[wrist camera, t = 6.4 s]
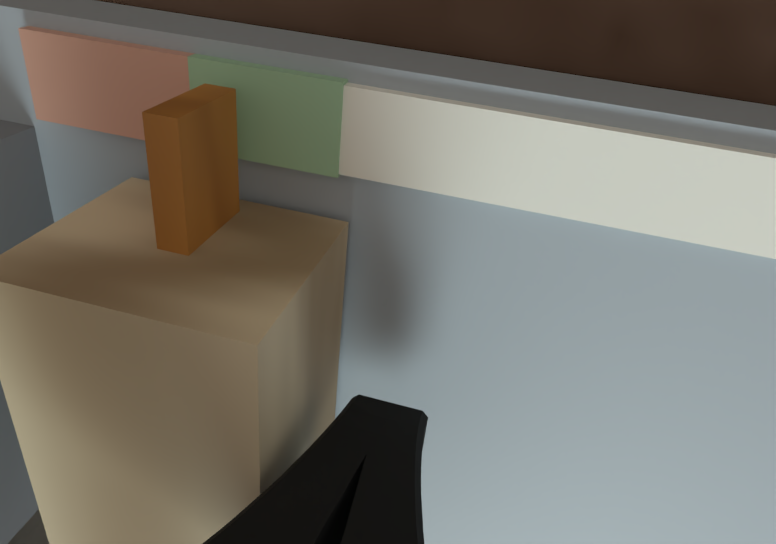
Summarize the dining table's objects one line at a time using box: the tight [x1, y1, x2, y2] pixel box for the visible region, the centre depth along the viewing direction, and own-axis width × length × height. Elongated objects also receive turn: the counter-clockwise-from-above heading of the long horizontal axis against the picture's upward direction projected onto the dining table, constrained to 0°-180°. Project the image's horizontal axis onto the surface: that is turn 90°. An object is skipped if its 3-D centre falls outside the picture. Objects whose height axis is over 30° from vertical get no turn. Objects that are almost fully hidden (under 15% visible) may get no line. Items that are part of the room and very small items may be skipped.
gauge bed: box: [0, 0, 776, 544], centre depth 10 cm, size 23×12×7 cm, turn 84°
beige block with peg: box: [0, 83, 349, 544], centre depth 10 cm, size 4×9×4 cm, turn 174°
